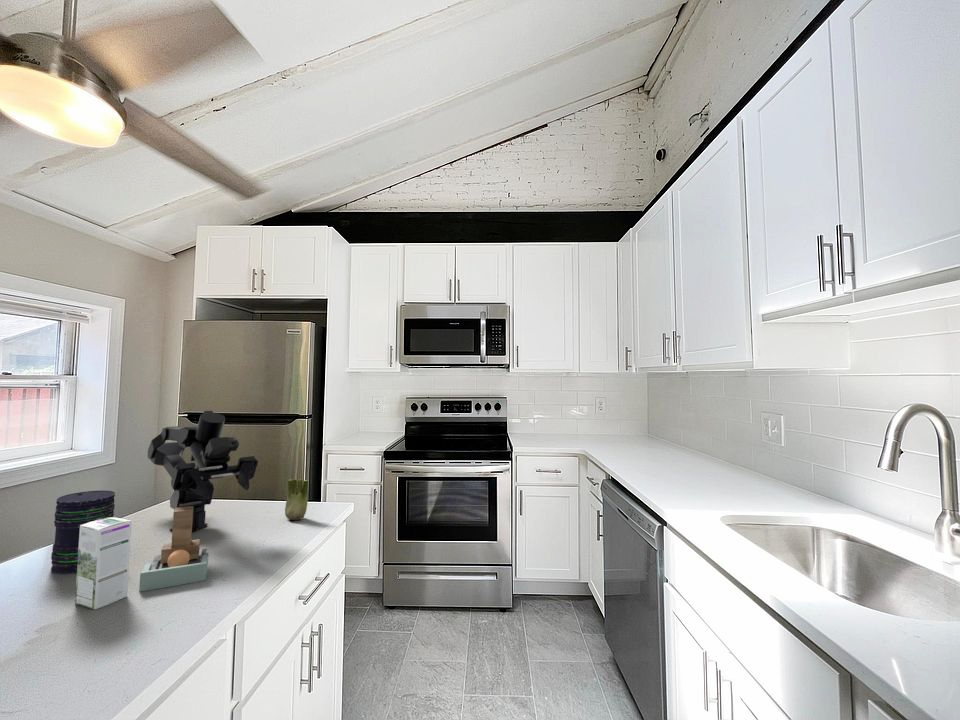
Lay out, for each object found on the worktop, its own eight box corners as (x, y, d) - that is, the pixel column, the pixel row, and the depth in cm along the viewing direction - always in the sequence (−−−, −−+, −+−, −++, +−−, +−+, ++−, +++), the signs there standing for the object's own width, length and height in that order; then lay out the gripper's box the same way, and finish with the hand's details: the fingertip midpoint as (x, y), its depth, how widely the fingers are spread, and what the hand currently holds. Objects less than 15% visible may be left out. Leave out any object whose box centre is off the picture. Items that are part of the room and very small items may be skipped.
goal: (144, 578, 90) (145, 561, 90) (207, 568, 95) (208, 552, 96) (139, 591, 84) (140, 573, 85) (205, 580, 90) (206, 563, 90)
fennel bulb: (308, 518, 131) (310, 478, 132) (295, 523, 127) (297, 481, 127) (294, 515, 134) (296, 476, 134) (281, 520, 129) (283, 479, 130)
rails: (155, 560, 99) (155, 555, 99) (206, 552, 104) (207, 548, 104) (148, 575, 92) (149, 570, 92) (204, 566, 96) (205, 561, 97)
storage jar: (120, 561, 98) (125, 494, 99) (64, 578, 89) (69, 504, 90) (96, 552, 102) (101, 488, 103) (40, 568, 93) (46, 497, 94)
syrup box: (128, 596, 83) (134, 519, 83) (92, 611, 77) (98, 528, 78) (109, 590, 85) (114, 515, 85) (72, 605, 79) (78, 524, 80)
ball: (162, 572, 93) (163, 552, 93) (177, 564, 97) (178, 546, 97) (178, 573, 93) (179, 554, 93) (193, 565, 97) (194, 547, 97)
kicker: (163, 557, 99) (166, 508, 100) (199, 552, 103) (202, 504, 103) (160, 563, 96) (163, 513, 96) (198, 558, 99) (201, 509, 100)
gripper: (172, 432, 106) (192, 469, 97) (251, 427, 120) (275, 459, 111) (163, 470, 108) (181, 510, 99) (241, 461, 123) (263, 495, 114)
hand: (228, 492), depth 106 cm, fingers open, 9 cm apart
